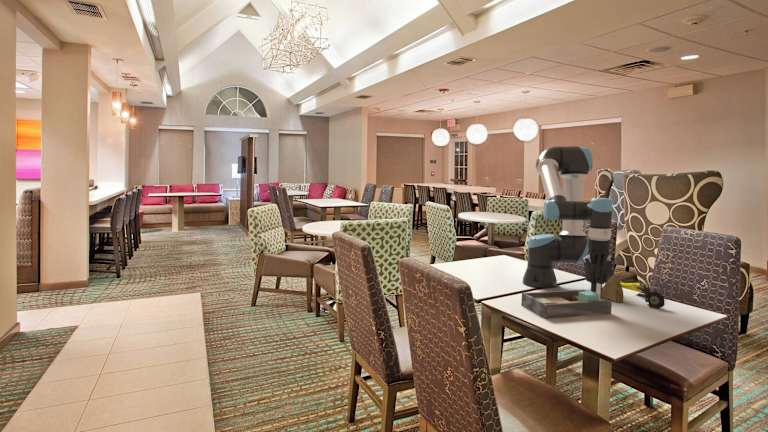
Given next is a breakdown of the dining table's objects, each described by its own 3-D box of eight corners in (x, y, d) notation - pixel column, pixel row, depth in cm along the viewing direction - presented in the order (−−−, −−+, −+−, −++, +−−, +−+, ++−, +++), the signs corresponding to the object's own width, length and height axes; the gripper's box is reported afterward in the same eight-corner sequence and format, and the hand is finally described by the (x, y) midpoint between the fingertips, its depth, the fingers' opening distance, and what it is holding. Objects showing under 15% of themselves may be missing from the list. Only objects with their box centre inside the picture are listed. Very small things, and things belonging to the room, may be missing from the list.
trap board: (521, 305, 178) (521, 293, 178) (583, 301, 184) (584, 289, 184) (544, 318, 163) (544, 305, 162) (611, 313, 169) (611, 300, 168)
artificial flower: (641, 310, 178) (634, 285, 179) (637, 302, 198) (631, 280, 200) (666, 307, 174) (660, 282, 176) (660, 299, 195) (654, 276, 196)
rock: (632, 298, 181) (626, 289, 191) (619, 281, 181) (614, 273, 190) (607, 311, 185) (603, 301, 195) (594, 294, 185) (591, 285, 194)
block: (578, 302, 173) (578, 291, 173) (589, 301, 174) (589, 291, 174) (586, 305, 168) (587, 295, 168) (598, 305, 169) (598, 294, 169)
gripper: (591, 241, 164) (587, 303, 167) (621, 240, 167) (617, 301, 170) (577, 237, 172) (574, 298, 174) (607, 237, 175) (603, 296, 177)
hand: (595, 300), depth 172 cm, fingers closed
